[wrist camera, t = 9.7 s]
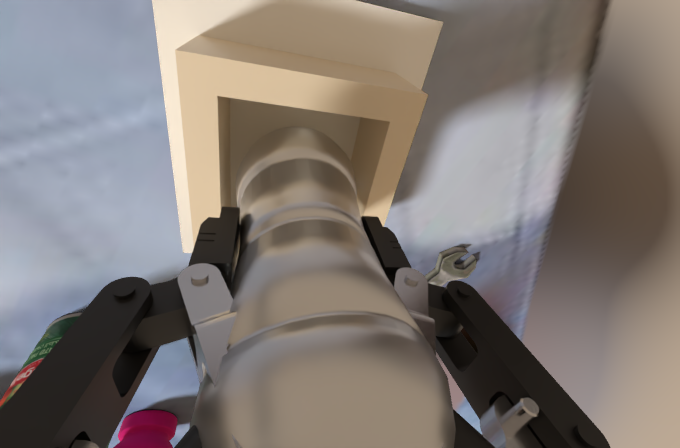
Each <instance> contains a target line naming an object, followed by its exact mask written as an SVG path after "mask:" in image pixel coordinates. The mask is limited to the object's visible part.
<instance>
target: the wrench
mask: <svg viewBox="0 0 680 448" xmlns="http://www.w3.org/2000/svg"><path fill="white" fill-rule="evenodd" d="M467 253H468V251H467V250H466V249H465V247H452V248H449V249H447V250H445V251H442V252H440V253H439V257H438V260H437V263H436V267H435V268H434V269H433V270H432V271H430V272H429V273H428V274H426V275H425V277H426V279H427V281H428V283H430V284H433V285H437V286H442V285H444V284H445V283H446V282H448V281H451V280H457V279H463V278H468V276H469V275H470V274H471V273H472V272H473V270H474V269H475V268H476V258H475V257H474V256H473V254H472V255H471V256H470V257H468V258H467V259H466V260H464V261H463V262H462V263H461V264H455V261H457V260H458V259H460V258H461V257H463V256H464V255H466V254H467Z"/></svg>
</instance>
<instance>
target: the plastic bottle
mask: <svg viewBox="0 0 680 448" xmlns="http://www.w3.org/2000/svg"><path fill="white" fill-rule="evenodd" d="M235 188H236V200H237V207H239V208H240V249H239V254H238V259H237V265H236V268H235V273H234V278H233V283H232V288H231V292H230V294H231V296H232V298H233V302H232V305H231V308H230V312H232V311H236V313H237V314H236V318H235V321H234V324H233V327H232V330H231V333H230V336H229V339H228V342H227V344H230V345H229V346H228V348H227V351H228V353H227V354H225V355H224V356H223V357H222V360H221V364H220V369H219V373H218V378H217V382H216V386H215V387H214V385H213V383H212V382H211V380H210V378H209V376H208V374H207V371H206V369H205V372H204V378H203V380H202V382H201V384H200V387H199V391H198V395H197V399H196V403H195V407H194V411H193V415H192V418H191V422H190V428H191V427H192V426H193V425H196V427H197V429H198V432H199V436H200V439H201V443H202V448H236V447H235V443H234V440H233V437H232V435H233V436H234V438H235V439H236V440H237V441H238V443H239V444H240V446H241V447H242V448H442V445H443V443H444V448H454V441H455V432H456V427H455V420H454V414H453V408H452V402H451V396H450V389H449V384H448V378H447V376H446V374H445V372H444V370H443V368H442V367H441V365H440V363H439V361H438V359H437V357H436V355H435V353H434V351H433V349H432V347H431V346H430V344H429V343H428V341H427V340H426V339H425V337H424V335H423V333H422V332H421V330H420V328H419V327H418V325H417V324H416V322H415V321H414V319H413V317H412V316H411V314H410V313H409V311H408V309H407V308H406V306H405V305H404V303H403V301H402V300H401V298H400V297H399V295H398V294H397V292H396V290H395V289H394V287H393V286H392V284H391V282H390V281H389V279H388V278H387V276H386V274H385V272H384V270H383V268H382V266H381V264H380V262H379V259H378V257H377V255H376V253H375V251H374V249H373V247H372V246H371V244H370V241H369V238H368V236H367V234H366V232H365V230H364V227H363V223H362V218H361V214H360V210H359V206H358V202H357V187H356V180H355V174H354V170H353V167H352V163H351V161H350V160H349V158H348V156H347V154H346V153H345V152H344V151H343V150H342V149H341V148H340V147H339V146H338V145H337V144H336V143H335V142H334V141H333V140H332V139H331V138H329V137H328V136H327V135H325V134H324V133H322V132H319V131H317V130H314V129H311V128H306V127H286V128H280V129H277V130H275V131H272V132H270V133H268V134H266V135H265V136H263V137H261V138H260V139H259V140H258V141H257V142H256V143H255V144H253V145H252V147H251V148H250V150H249V151H248V153H247V154H246V156H245V157H244V159H243V160H242V162H241V163H240V166H239V168H238V171H237V174H236V182H235ZM231 433H232V434H231Z"/></svg>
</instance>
